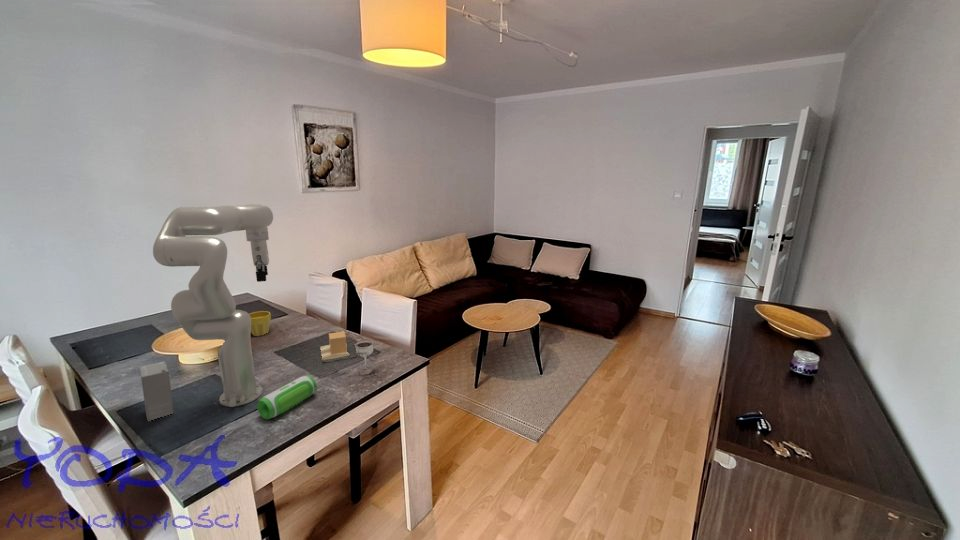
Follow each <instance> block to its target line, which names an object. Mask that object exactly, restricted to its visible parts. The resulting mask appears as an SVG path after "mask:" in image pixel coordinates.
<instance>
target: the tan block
mask: <svg viewBox="0 0 960 540" xmlns="http://www.w3.org/2000/svg"><path fill="white" fill-rule="evenodd" d="M328 340H329V342H328V343H329V345H330V351H331V354H337V353H343V352H347V343H346V342H347V336H346V332H345V331H344V330H343V331H337V332H336V331H335V332H329V333H328Z"/></svg>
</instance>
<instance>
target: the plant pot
mask: <svg viewBox="0 0 960 540" xmlns="http://www.w3.org/2000/svg"><path fill="white" fill-rule="evenodd" d="M248 314H249V315H250V317H251V332H250V333H251V334H252V335H253V336H254V337H261V336H260V335H262V336H265V335H267V334H268V333H269V330H270V329H269V328H270V321H271V320H272V317H271V316H272V314H271V312H270V311H264V310H261V311H260V310H259V311H254V312H251V313H248ZM266 333H267V334H266ZM264 334H265V335H264Z"/></svg>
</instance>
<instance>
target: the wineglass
mask: <svg viewBox="0 0 960 540" xmlns="http://www.w3.org/2000/svg"><path fill="white" fill-rule="evenodd" d="M354 345H355V348H356V353H357V354H358V357H360V358H363V361H364V369H367V357H369V356H370V355H372V353H374V342H373V341H372V340H368V339H366V340H365V339H364V340H359V341H357V342H356V343H354Z"/></svg>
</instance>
